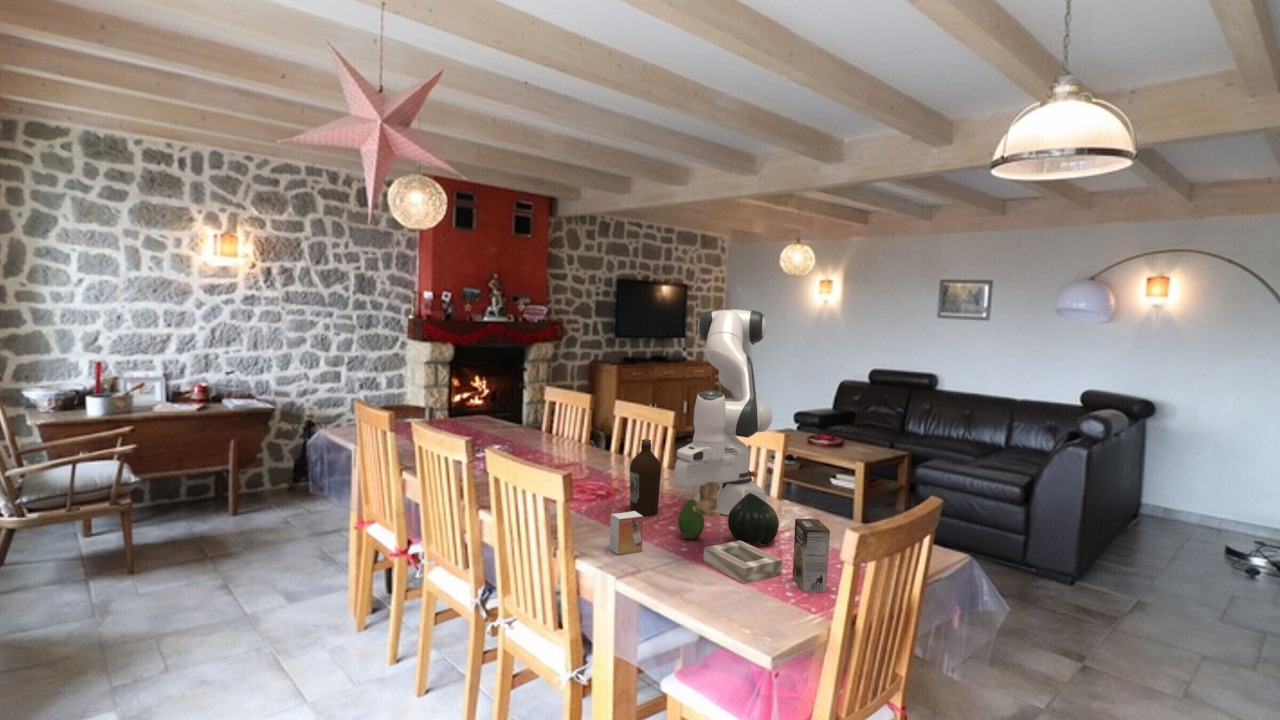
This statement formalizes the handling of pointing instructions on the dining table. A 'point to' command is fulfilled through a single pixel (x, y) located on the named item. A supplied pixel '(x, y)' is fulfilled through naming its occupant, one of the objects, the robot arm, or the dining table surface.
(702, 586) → the dining table surface
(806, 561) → the coffee box
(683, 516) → the avocado
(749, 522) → the squash
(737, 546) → the rectangular frame
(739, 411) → the robot arm
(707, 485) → the tan wooden block
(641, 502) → the olive oil
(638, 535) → the small box
